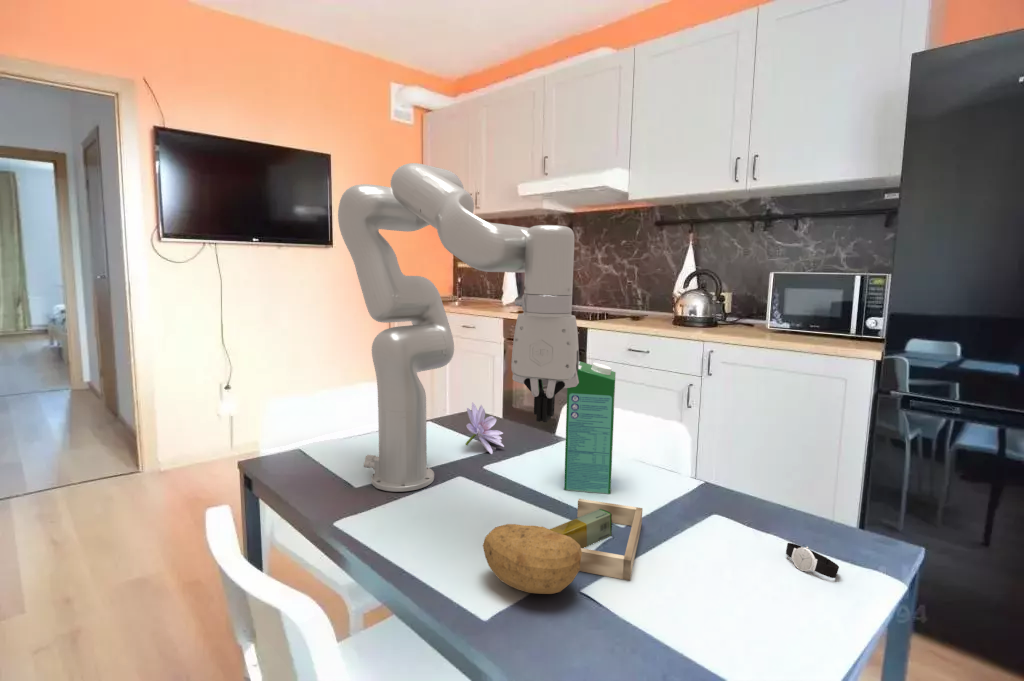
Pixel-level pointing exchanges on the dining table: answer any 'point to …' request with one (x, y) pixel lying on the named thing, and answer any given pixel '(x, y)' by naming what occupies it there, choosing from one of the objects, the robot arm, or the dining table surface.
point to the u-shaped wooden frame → (607, 561)
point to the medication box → (588, 528)
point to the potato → (532, 558)
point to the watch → (811, 560)
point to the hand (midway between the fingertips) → (543, 419)
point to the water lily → (483, 428)
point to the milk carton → (590, 430)
